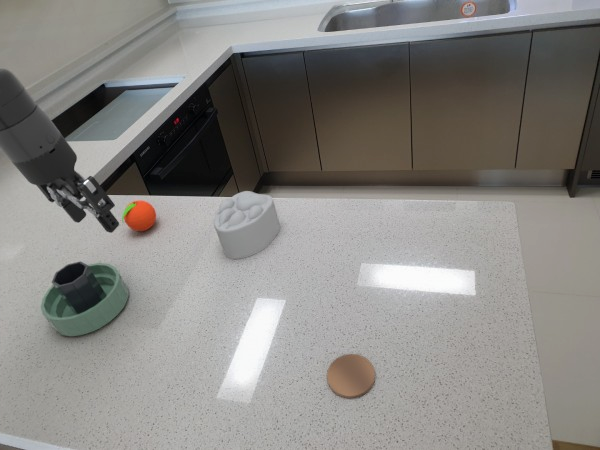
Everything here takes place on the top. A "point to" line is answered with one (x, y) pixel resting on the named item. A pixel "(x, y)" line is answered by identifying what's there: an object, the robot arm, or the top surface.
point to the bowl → (95, 316)
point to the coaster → (351, 376)
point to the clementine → (139, 215)
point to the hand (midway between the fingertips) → (97, 223)
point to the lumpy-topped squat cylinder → (246, 224)
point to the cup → (78, 287)
